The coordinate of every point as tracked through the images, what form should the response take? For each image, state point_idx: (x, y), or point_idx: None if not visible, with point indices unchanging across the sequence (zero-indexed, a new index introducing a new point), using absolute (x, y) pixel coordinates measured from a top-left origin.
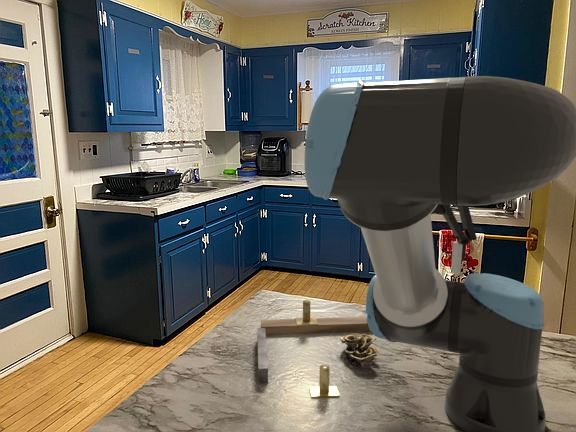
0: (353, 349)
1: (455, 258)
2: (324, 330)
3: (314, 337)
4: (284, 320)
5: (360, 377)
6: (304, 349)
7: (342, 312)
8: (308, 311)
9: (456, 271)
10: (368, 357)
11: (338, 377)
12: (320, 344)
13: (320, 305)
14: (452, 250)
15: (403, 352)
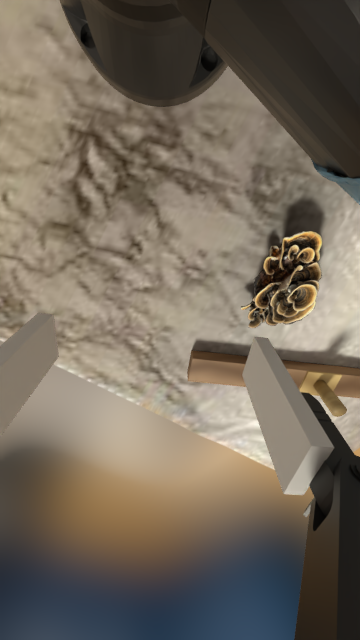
0: (299, 281)
1: (21, 372)
2: (292, 363)
3: (314, 350)
4: (348, 393)
5: (320, 208)
6: (351, 317)
7: (227, 413)
8: (329, 393)
9: (47, 325)
10: (305, 233)
11: (355, 217)
12: (318, 327)
13: (248, 437)
14: (9, 423)
15: (200, 276)
